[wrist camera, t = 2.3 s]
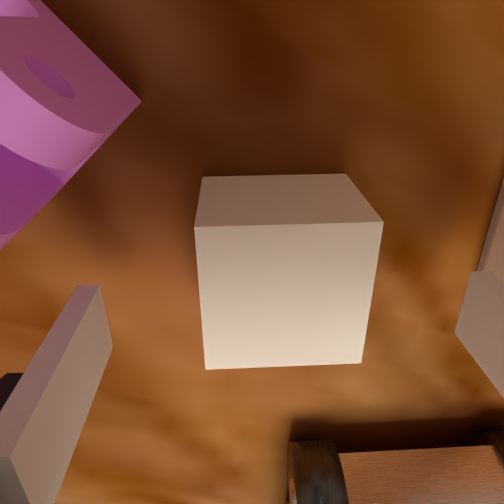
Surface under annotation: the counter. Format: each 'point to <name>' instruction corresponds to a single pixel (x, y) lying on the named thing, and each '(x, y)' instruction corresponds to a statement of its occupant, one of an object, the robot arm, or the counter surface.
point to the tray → (495, 241)
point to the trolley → (398, 474)
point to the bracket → (48, 109)
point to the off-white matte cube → (284, 269)
